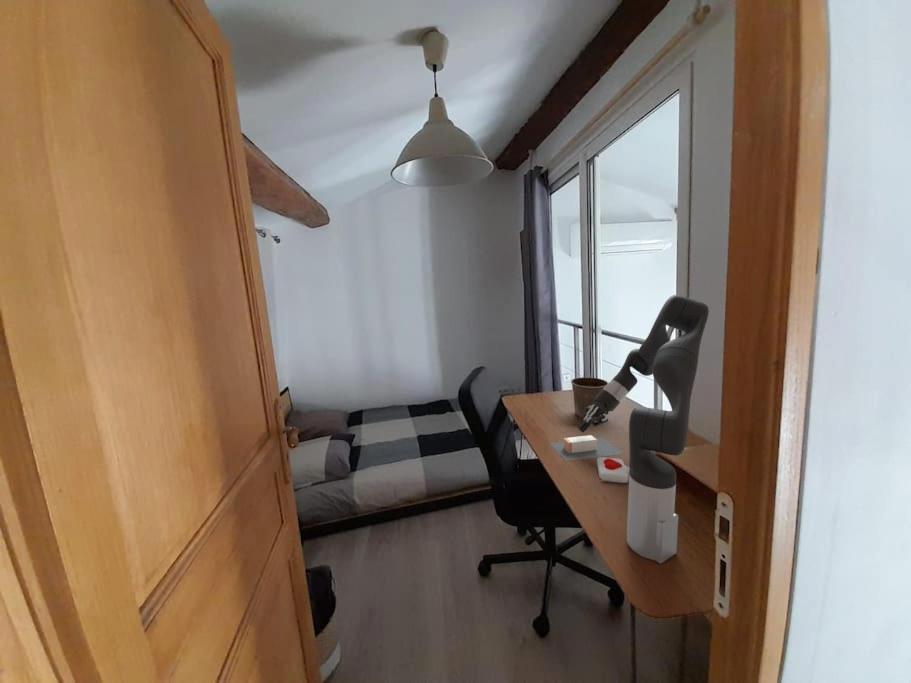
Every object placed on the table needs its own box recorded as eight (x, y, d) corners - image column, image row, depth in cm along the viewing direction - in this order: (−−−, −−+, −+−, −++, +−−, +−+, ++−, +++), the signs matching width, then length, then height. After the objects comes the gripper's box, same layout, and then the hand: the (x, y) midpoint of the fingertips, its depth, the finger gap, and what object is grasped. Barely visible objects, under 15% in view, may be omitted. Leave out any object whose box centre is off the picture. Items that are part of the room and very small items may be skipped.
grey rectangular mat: (601, 438, 137) (601, 437, 137) (624, 455, 123) (624, 453, 123) (549, 445, 134) (549, 443, 134) (566, 462, 120) (566, 460, 120)
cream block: (591, 435, 130) (563, 438, 129) (596, 439, 126) (568, 442, 125) (590, 445, 131) (563, 448, 129) (596, 449, 127) (568, 453, 125)
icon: (635, 473, 105) (599, 469, 108) (634, 486, 105) (599, 482, 108) (628, 454, 116) (596, 451, 119) (628, 466, 117) (596, 463, 120)
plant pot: (609, 423, 152) (610, 387, 150) (570, 420, 157) (570, 385, 155) (606, 410, 167) (606, 378, 165) (570, 407, 173) (571, 376, 170)
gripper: (595, 384, 133) (564, 417, 133) (616, 394, 120) (582, 431, 120) (607, 396, 134) (577, 429, 134) (629, 407, 121) (596, 444, 121)
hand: (580, 430), depth 127 cm, fingers closed
